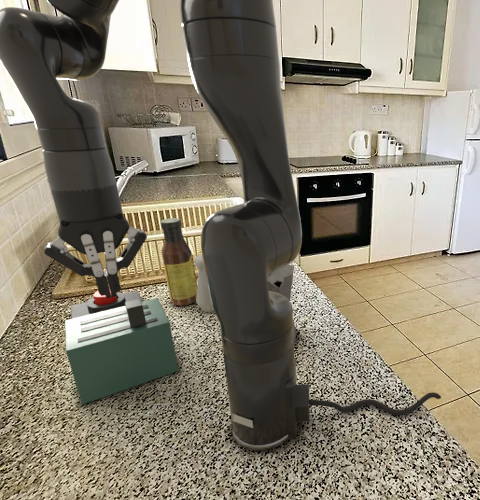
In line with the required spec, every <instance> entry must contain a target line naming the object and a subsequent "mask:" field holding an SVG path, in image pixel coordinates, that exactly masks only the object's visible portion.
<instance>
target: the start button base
mask: <svg viewBox="0 0 480 500" xmlns="http://www.w3.org/2000/svg"><path fill="white" fill-rule="evenodd" d="M137 299H140V300H141V302H143V300H142V297H141V295H140V293H139V290H134V291H129V292H125V293H122V292H117V300H116V301H114V302H112V303H110V304H106V305H96V304H95V300H94V296H93V297H91V298H90V299H89V300H87V301H86V302H82V303H77V304H73V305H70V317H71V318H70V319H73V318H77V317H81V316H85V315H90V314H94V313H98V312H102V311H106V310H110V309H114V308H118V307H122V306H125V302H128V301H132V300H137Z"/></svg>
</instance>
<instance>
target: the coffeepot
mask: <svg viewBox="0 0 480 500" xmlns="http://www.w3.org/2000/svg"><path fill="white" fill-rule="evenodd" d="M294 269H295V265H292V264H291V263H290V264H289V265H287V266H286V267H284V268H282V269H281V270H279V271H277V272H275V273H273V274H272V275H270V276H268V277H267V283H268V291H273V292H277V293H280V294H282V295H284V296H285V297H287V298H288V299H289V301H290V302H291V297H292V296H291V295H292V288H293V279H294ZM295 325H296V324H295V320H294V319H293V332H294V343H296V342H295V341H296V335H297V329H296V326H295Z"/></svg>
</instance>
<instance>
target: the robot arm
mask: <svg viewBox="0 0 480 500" xmlns="http://www.w3.org/2000/svg"><path fill="white" fill-rule="evenodd" d="M45 1H46V2H47V3H48V4H49V5H50V6H51V7H53V8H54V9H55V10H56V11H58V12H59V13H61V14H62V15H61V16H58V15H53V14H49V13H45V12H40V11H35V10H31V9H26V8H21V7H15V6H8V7H4V8H1V9H0V63H1V65H2V66H3V68H4V69H5V71H6V73H7V74H8V76H9V78H10V79H11V81H12V82H13V84H14V86H15V88H16V89H17V91H18V93H19V95H20V97H21V98H22V100H23V102H24V103H25V105H26V107H27V109H28V110H29V112H30V114H31V116H32V118H33V121H34V126H35V128H36V132H37V136H38V140H39V143H40V147H41V150H42V155H43V165H44V171H45V174H46V177H47V182H48V185H49V188H50V193H51V196H52V199H53V204H54V207H55V210H56V214H57V217H58V221H59V227H58V230H57V237H56V238H55V239H54V240H51V242H47V243H45V245H44V252H43V253H44V254H45V256H47V257H49V258H50V259H52V260H54V261H55V262H56V263H59V264H60V265H61V266H64V267H65V268H67V269H69V270H70V271H71V272H73V273H74V274H75V273H76V274H77V275H78V276H81V277H85V276H89V277H90V276H91V277H93V278H94V279H95V283H96V286H97V287H96V288H97V291H99V294H100V295H101V296H104V295H105V296H106V299H107V298H111V295H112V297H115V296H117V292H119V293H121V289H122V287H121V283H120V278H119V272H120V270H122V269H127V268H129V267H130V266H131V264H132V263H133V261H134V260H135V258H136V256H137V254H138V253H139V251H140V250H141V248H142V246H143V245H144V244H145V242H146V240H147V238H148V236H147V233H146V232H145V231H144V230H143V229H142V228H139V229H138V228H136V227H133V226H131V225H130V222H129V221H128V219H127V218H126V217H125V216H124V211H123V207H122V203H121V200H120V198H121V197H120V194H119V193H120V192H119V189H118V184H117V180H116V173H115V170H114V165H113V162H112V159H111V156H110V153H109V150H108V148H107V143H106V138H105V132H104V128H103V124H102V119H101V116H100V113H99V111H98V109H97V107H96V106H95V105H94V104H92V103H90V102H88V101H84V100H80V99H77V98H73V97H70V96H69V95H68V94H67V93H66V92H65V89H63V87H62V86H61V84H60V83H59V81H58V80H67V81H68V80H69V81H86V80H89V79H91V78H93V77H95V76H96V75H97V74H98V73H99V72H100V71H101V70H102V68H103V66H104V64H105V61H106V55H107V45H108V39H109V33H110V27H111V26H110V24H111V18H112V15H113V13H114V11H115V9H116V7H117V6H118V3H119V2H120V0H45ZM179 12H180V22H181V27H182V28H181V29H182V35H183V41H184V48H185V53H186V59H187V60H186V61H187V65H188V69H189V70H188V71H189V74H190V79H191V81H192V84H193V86H194V89H195V91H196V93H197V94H198V95H197V96H198V97H199V98H200V100H201V102H202V103H203V105H204V107H205V109H206V110H207V112H208V113H209V115H210V116H211V117H212V119H213V121H214V122H215V124H216V125H217V127H218V128H219V130H220V131H221V132H222V134H223V135H224V137H225V139H226V140H227V142H228V144H229V145H230V147H231V149H232V152H233V153H234V155H235V159H236V161H237V165H238V169H239V172H240V178H241V179H240V180H241V184H242V192H243V203H240V204H236V205H233V206H230V207H227V208H223V209H220V210H217V211H215V212H213V213H211V214H210V215H209V216H208V217H207V218H206V219H205V221H204V223H203V225H202V229H201V233H200V234H201V235H200V248H201V249H200V250H201V254H202V257H203V263H204V268H205V273H206V278H207V283H208V288H209V294H210V299H211V304H212V307H213V309H214V311H213V312H214V314H215V316H216V318H217V321H218V323H219V329H220V337H221V344H222V353H223V364H224V370H225V380H226V387H227V394H228V404H229V411H230V422H231V433H232V437H233V439H234V441H235V442H236V443H237V444H238V445H239V446H241V447H242V448H244V449H246V450H249V451H254V452H255V451H257V452H263V451H268V450H273V449H275V448H278V447H280V446H281V445H283V444H285V443H286V442H287V441H290V440H295V439H297V432H298V423H305V422H306V423H307V422H310V406H317V407H328V408H332V409H335V410H336V411H338V412H341V413H348V412H351V411H354V410H356V409H358V408H360V407H362V406H366V405H367V406H368V405H369V406H375V407H377V408H379V409H380V410H382V411H384V412H386V413H388V414H390V415H394V416H405V415H408V414H410V413H412V412H414V411H416V410H417V409H418V408H420V407H421V406H423V404H424V403H425V402H427V401H428V400H429V399H431V398H433V399H436V400H440V399H442V396H441V395H440V394H439V393H437V392H433V391H432V392H428V393H426V394H424V395H423V396H422V397H420V399H419V400H418V401H416V402H415V403H414V404H412V405H410V406H409V407H406V408H403V409H395V408H392V407H390V406H387V405H386V404H384V403H382V402H381V401H378V400H375V399H372V398H371V399H369V398H368V399H361V400H357V401H356V402H353V403H352V404H350V405H347V406H342V405H340V404H339V403H338V402H334V401H330V400H321V399H310V384H309V383H303V384H298V383H297V382H298V381H297V359H296V357H295V342H294V332H293V320H294V309H293V304H292V301H291V300H290V301H289V299H288V298H287V297H285V296H284V295H282V294H280V293H277V292H273V291H268V283H267V277H268V276H270V275H272V274H273V273H275V272H277V271H279V270H281V269H282V268H284V267H286V266H287V265H289V264H290V265H291V264H292V262H294V261H295V260H296V258H297V257H298V255H299V253H300V252H301V248H302V244H303V229H302V222H301V221H302V220H301V215H300V210H299V203H298V198H297V195H296V189H295V185H294V184H295V183H294V179H293V173H292V168H291V163H290V157H289V150H288V149H289V148H288V140H287V130H286V123H285V122H286V121H285V113H284V105H283V96H282V85H281V68H280V67H281V65H280V55H279V54H280V53H279V44H278V31H277V25H276V16H275V10H274V2H273V0H179ZM126 236H127V237H126ZM125 237H126V239H127V240H128V243H127V245H126V246H125V248H124V249H123V251H122V252H121V254H120V256H119V257H118V258H117V257H116V250H117V249H118V248H119V247H120V245H121V244H122V242H123V240H124V238H125ZM65 243H66V244H67V245H68V246H70V247H72V248H73V249H74V250H76V251H77V252H79V253H80V254H83V255H86V257H87V259H88V262H89V264H88V263H85V262H84V261H82V260H81V259H79V258H77V257H76V256H74V255H73V254H72V253H70V252H68V251H69V250H68V246H67V245H66V244H65ZM100 253H103V254H104V260H105V261H104V262H105V269H106V270H104V267H103V264H102V261H101V258H100V255H99V254H100ZM110 292H111V293H110Z"/></svg>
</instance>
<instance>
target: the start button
mask: <svg viewBox="0 0 480 500" xmlns="http://www.w3.org/2000/svg"><path fill="white" fill-rule="evenodd" d="M110 293H111V292H110ZM93 297H94V300H95V304H96V305H106V304H110V303H112V302H114V301H116V300H117V296H115V297H112V295H111V298H107V299H106V296H105V295H104V296H101V295H100V294H99V291H98V290H97V291H95V292H94V293H93Z"/></svg>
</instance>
